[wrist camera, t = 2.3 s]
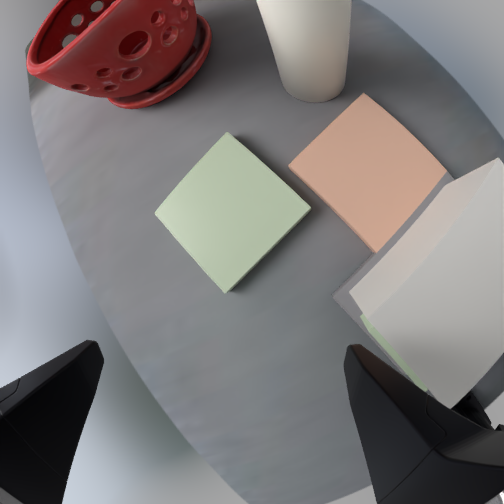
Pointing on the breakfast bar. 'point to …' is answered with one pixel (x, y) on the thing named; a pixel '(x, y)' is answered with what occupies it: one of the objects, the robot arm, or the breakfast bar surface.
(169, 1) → the plant pot
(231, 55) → the breakfast bar surface
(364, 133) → the terracotta pad
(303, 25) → the cream bottle
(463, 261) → the grey unit
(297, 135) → the breakfast bar surface
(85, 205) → the breakfast bar surface
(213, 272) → the sage green pad
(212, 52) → the breakfast bar surface
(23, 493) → the robot arm
